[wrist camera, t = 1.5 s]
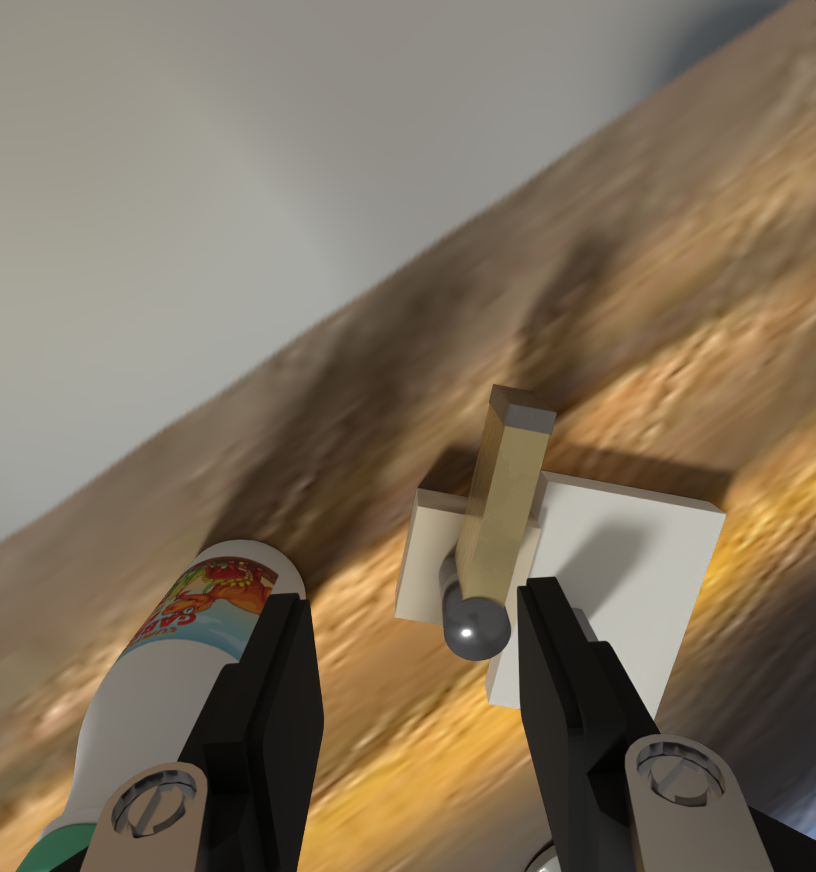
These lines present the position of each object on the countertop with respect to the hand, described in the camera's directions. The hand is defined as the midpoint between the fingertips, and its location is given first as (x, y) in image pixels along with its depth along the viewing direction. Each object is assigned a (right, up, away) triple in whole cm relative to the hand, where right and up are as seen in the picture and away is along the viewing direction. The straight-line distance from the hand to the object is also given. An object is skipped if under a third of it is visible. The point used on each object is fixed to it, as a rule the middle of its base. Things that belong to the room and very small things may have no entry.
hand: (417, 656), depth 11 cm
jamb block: (+3, -3, +25) cm, 25 cm away
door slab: (+11, -6, +26) cm, 29 cm away
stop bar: (+4, +1, +20) cm, 21 cm away
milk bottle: (-10, -5, +26) cm, 28 cm away
